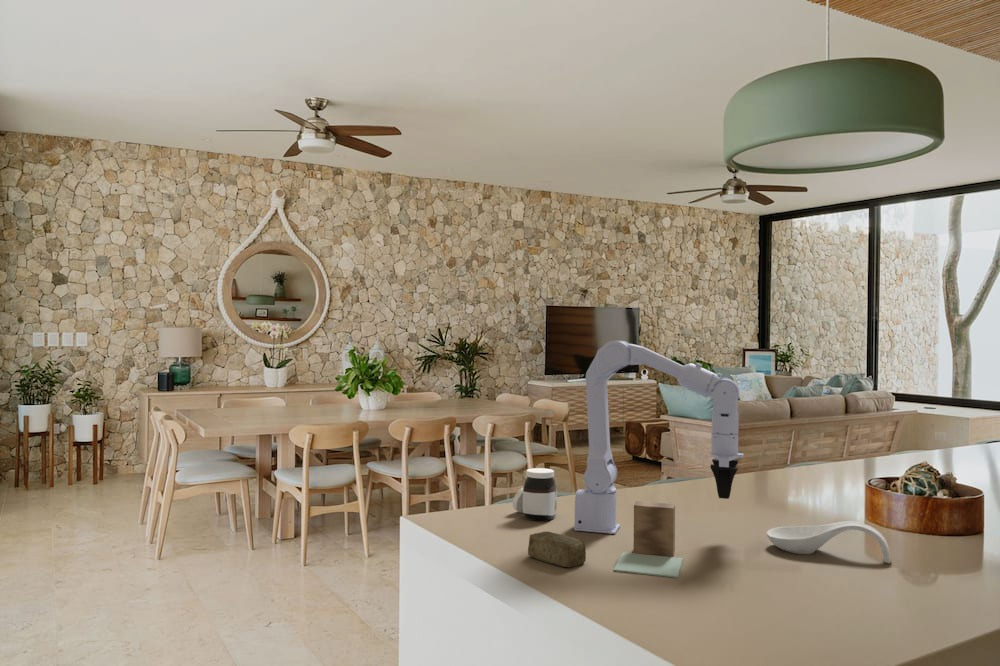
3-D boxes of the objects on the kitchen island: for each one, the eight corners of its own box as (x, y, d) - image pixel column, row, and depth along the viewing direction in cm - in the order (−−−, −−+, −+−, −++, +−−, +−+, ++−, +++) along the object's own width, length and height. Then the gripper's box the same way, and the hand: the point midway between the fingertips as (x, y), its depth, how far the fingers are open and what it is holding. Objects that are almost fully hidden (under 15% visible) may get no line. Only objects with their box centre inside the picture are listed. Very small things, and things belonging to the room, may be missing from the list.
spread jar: (549, 523, 177) (549, 475, 177) (504, 519, 181) (505, 471, 181) (561, 512, 189) (562, 466, 189) (519, 509, 192) (519, 464, 192)
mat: (613, 571, 141) (613, 569, 141) (623, 553, 153) (623, 552, 153) (677, 577, 138) (677, 576, 138) (682, 559, 149) (682, 558, 149)
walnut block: (633, 553, 153) (633, 505, 153) (636, 548, 157) (636, 501, 157) (673, 557, 151) (673, 508, 151) (674, 552, 155) (675, 504, 155)
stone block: (569, 571, 142) (569, 544, 142) (525, 558, 150) (525, 533, 150) (587, 564, 146) (588, 539, 146) (544, 552, 154) (544, 528, 154)
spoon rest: (763, 554, 154) (763, 519, 155) (769, 540, 165) (769, 508, 165) (891, 570, 144) (891, 533, 144) (889, 554, 155) (889, 520, 155)
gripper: (744, 438, 156) (743, 503, 156) (743, 430, 169) (743, 489, 169) (709, 436, 158) (708, 500, 158) (711, 428, 172) (711, 487, 172)
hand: (724, 494), depth 164 cm, fingers open, 7 cm apart
